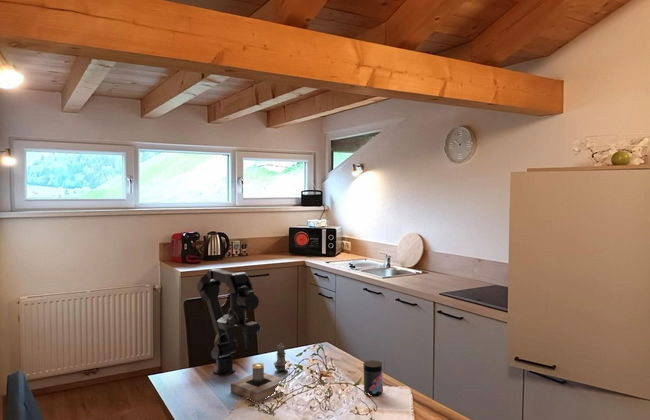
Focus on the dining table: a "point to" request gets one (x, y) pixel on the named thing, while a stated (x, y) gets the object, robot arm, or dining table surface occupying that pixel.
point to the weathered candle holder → (280, 360)
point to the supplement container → (373, 377)
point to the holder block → (252, 392)
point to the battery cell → (258, 374)
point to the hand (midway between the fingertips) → (239, 346)
